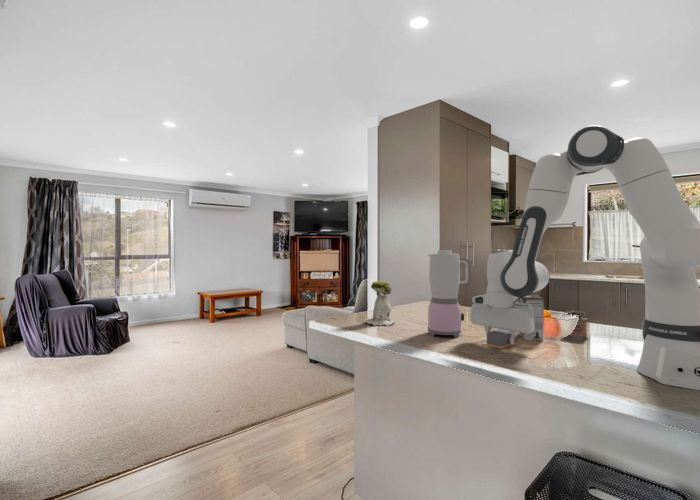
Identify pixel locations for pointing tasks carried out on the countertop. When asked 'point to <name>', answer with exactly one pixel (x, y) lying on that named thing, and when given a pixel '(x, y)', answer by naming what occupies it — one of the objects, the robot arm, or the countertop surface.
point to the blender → (446, 293)
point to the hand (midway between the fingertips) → (500, 342)
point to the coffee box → (535, 317)
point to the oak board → (513, 348)
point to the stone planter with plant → (381, 304)
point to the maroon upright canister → (578, 327)
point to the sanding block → (498, 338)
